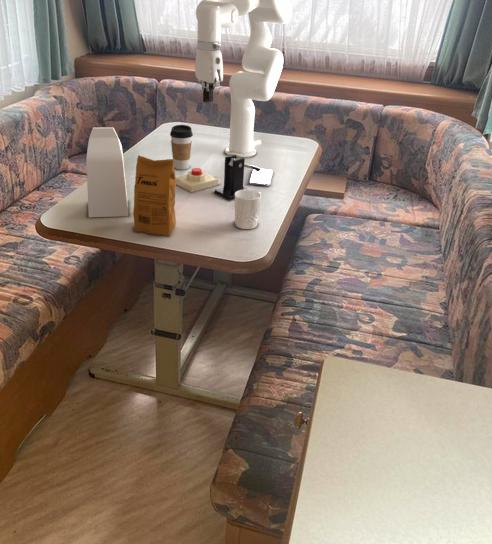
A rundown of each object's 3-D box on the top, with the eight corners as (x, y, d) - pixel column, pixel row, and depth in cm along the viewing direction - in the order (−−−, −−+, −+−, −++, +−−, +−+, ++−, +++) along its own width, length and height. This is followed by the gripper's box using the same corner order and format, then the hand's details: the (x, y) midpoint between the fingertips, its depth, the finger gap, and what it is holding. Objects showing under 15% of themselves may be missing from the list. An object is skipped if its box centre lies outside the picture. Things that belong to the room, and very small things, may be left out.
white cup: (231, 219, 179) (233, 189, 174) (256, 219, 180) (259, 189, 175) (234, 230, 172) (236, 199, 167) (260, 230, 173) (263, 199, 168)
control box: (200, 176, 210) (201, 165, 208) (218, 184, 204) (218, 174, 202) (174, 183, 203) (174, 172, 201) (191, 192, 197) (191, 181, 195)
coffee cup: (193, 163, 221) (194, 125, 214) (190, 171, 214) (191, 131, 207) (172, 162, 222) (172, 123, 214) (168, 170, 215) (168, 130, 207)
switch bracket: (236, 186, 203) (238, 151, 196) (251, 194, 197) (254, 158, 191) (214, 193, 197) (215, 157, 191) (229, 200, 192) (231, 163, 185)
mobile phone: (248, 181, 204) (253, 167, 217) (248, 184, 205) (253, 170, 217) (269, 183, 203) (273, 169, 216) (269, 186, 204) (273, 171, 217)
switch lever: (249, 169, 201) (251, 162, 201) (259, 173, 198) (261, 166, 197) (225, 163, 193) (227, 156, 192) (235, 167, 189) (237, 160, 189)
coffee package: (141, 218, 177) (139, 149, 166) (180, 224, 175) (180, 154, 164) (129, 232, 169) (125, 160, 158) (169, 238, 166) (168, 165, 155)
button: (197, 171, 204) (197, 167, 203) (203, 174, 202) (203, 170, 201) (189, 173, 202) (189, 169, 201) (195, 177, 200) (195, 172, 199)
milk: (88, 217, 177) (81, 134, 164) (90, 202, 186) (83, 122, 173) (128, 216, 178) (124, 133, 165) (127, 201, 188) (123, 122, 175)
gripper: (232, 48, 188) (230, 104, 198) (203, 41, 198) (202, 95, 207) (214, 50, 184) (213, 108, 193) (186, 43, 193) (186, 98, 203)
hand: (207, 101), depth 200 cm, fingers closed
